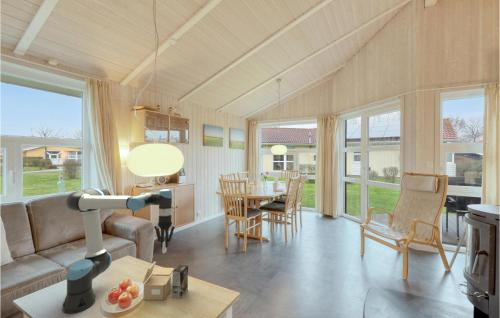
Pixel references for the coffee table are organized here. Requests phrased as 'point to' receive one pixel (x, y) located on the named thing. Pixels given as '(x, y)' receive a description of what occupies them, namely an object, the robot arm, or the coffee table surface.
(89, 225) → the robot arm
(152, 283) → the carton
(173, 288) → the coffee box
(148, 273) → the panel
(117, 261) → the coffee table surface
